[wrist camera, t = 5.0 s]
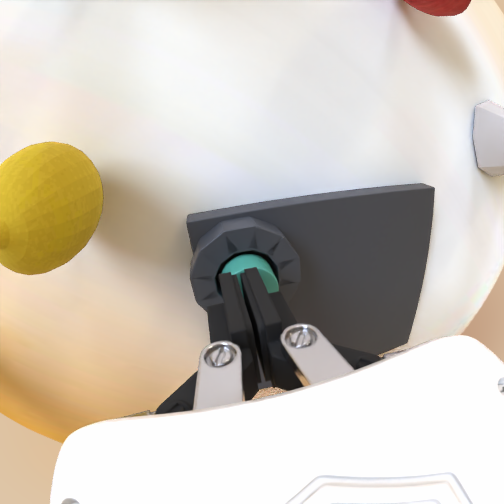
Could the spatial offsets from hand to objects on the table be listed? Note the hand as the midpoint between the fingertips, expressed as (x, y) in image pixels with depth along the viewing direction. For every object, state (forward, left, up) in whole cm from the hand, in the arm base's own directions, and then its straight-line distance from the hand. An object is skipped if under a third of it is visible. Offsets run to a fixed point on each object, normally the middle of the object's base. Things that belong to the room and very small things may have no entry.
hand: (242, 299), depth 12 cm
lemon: (-8, +6, -5) cm, 11 cm away
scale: (+6, -4, -5) cm, 9 cm away
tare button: (0, 0, -2) cm, 2 cm away
